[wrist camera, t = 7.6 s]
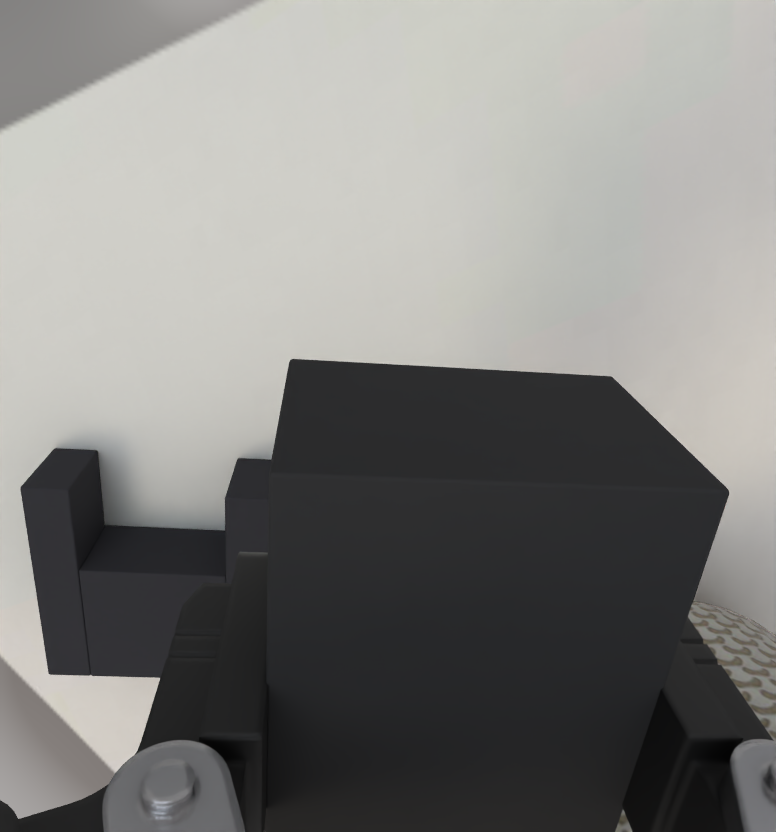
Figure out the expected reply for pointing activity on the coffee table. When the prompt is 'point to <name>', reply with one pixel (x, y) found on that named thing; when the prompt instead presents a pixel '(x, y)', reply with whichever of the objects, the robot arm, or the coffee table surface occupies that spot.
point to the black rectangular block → (470, 596)
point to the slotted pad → (125, 566)
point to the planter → (738, 662)
